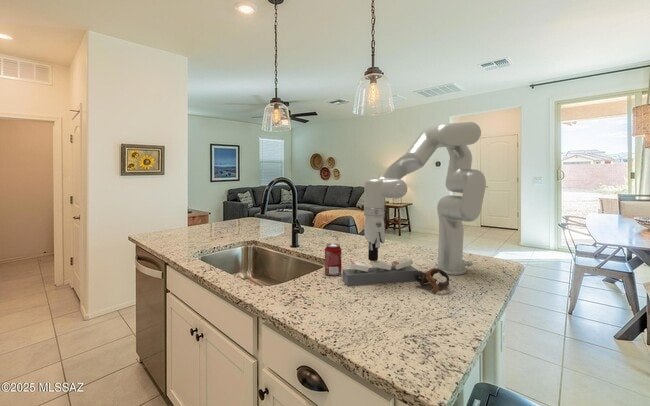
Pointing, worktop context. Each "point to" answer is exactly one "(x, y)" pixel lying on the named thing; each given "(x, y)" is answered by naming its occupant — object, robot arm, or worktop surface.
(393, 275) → the power strip
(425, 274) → the brown looped band
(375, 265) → the rocker
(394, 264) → the rocker
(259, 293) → the worktop surface
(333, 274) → the soda can
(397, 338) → the worktop surface
